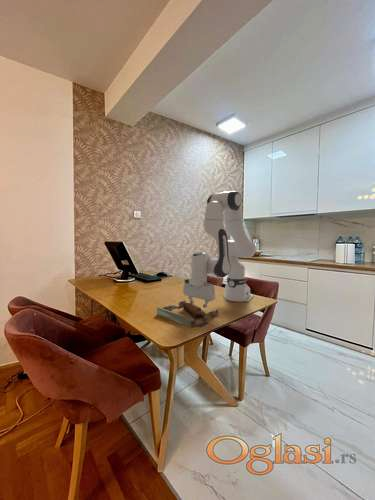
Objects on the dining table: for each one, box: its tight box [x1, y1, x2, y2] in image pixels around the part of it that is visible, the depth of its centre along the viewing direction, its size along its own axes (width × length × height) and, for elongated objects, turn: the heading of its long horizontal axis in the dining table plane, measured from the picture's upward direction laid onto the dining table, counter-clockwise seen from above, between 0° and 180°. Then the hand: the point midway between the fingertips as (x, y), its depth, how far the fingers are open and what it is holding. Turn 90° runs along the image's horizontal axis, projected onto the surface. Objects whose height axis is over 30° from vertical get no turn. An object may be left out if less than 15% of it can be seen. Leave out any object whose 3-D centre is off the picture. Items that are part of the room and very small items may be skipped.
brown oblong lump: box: [183, 302, 206, 320], centre depth 121 cm, size 18×7×7 cm
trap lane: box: [156, 300, 219, 329], centre depth 117 cm, size 22×24×4 cm
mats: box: [172, 305, 210, 328], centre depth 117 cm, size 8×33×1 cm, turn 36°
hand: (198, 305), depth 124 cm, fingers open, 8 cm apart
